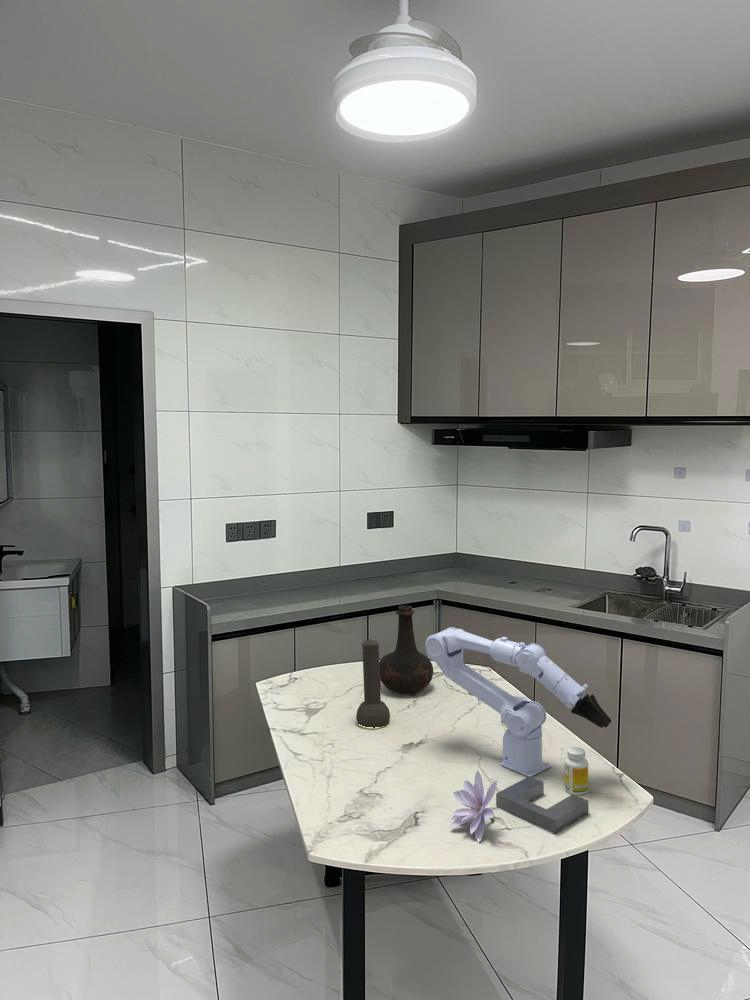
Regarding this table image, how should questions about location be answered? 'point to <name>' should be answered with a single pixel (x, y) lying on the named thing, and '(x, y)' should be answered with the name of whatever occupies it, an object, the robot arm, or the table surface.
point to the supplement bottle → (576, 771)
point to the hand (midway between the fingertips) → (606, 724)
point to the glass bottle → (405, 660)
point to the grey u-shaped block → (549, 819)
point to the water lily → (474, 805)
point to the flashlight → (372, 689)
